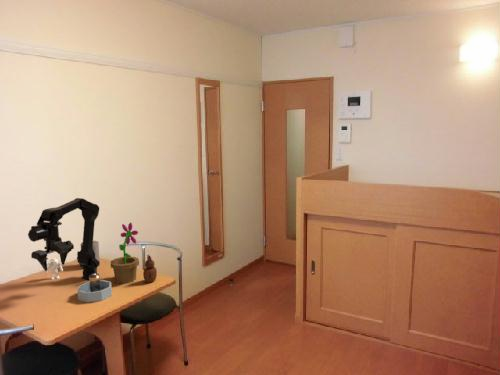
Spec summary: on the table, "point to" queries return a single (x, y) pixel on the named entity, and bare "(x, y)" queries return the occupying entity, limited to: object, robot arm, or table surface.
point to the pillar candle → (95, 249)
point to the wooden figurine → (149, 270)
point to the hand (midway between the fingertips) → (54, 267)
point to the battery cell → (94, 282)
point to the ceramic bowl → (95, 296)
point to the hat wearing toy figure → (54, 267)
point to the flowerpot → (126, 259)
